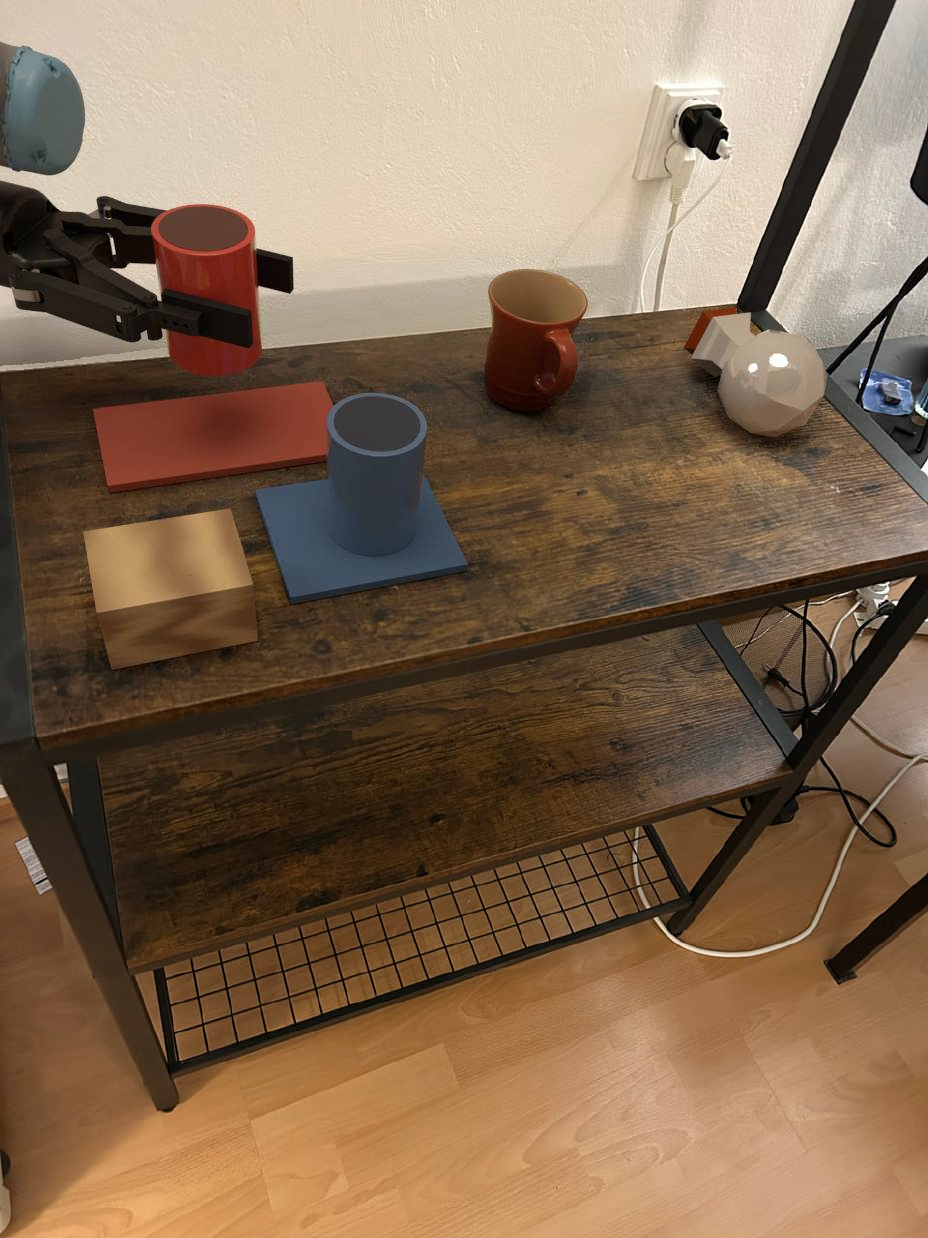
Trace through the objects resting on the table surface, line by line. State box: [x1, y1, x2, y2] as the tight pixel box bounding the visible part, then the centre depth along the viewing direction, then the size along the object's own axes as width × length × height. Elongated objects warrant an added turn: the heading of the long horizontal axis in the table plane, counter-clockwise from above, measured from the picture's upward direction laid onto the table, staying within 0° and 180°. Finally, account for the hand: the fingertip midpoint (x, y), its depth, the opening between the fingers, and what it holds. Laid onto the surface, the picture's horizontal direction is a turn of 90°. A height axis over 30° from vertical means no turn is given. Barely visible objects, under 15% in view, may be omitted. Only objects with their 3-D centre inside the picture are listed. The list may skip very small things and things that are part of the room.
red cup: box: [151, 203, 263, 377], centre depth 73 cm, size 7×7×10 cm
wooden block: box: [82, 508, 259, 671], centre depth 67 cm, size 10×8×6 cm
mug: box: [483, 268, 589, 412], centre depth 87 cm, size 12×9×10 cm
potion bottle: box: [683, 306, 829, 438], centre depth 91 cm, size 9×10×15 cm
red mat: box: [92, 380, 335, 494], centre depth 83 cm, size 20×10×1 cm, turn 110°
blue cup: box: [325, 392, 428, 556], centre depth 73 cm, size 7×7×10 cm
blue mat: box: [254, 472, 469, 605], centre depth 77 cm, size 14×12×1 cm
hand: (271, 301), depth 72 cm, fingers closed on red cup, 7 cm apart
